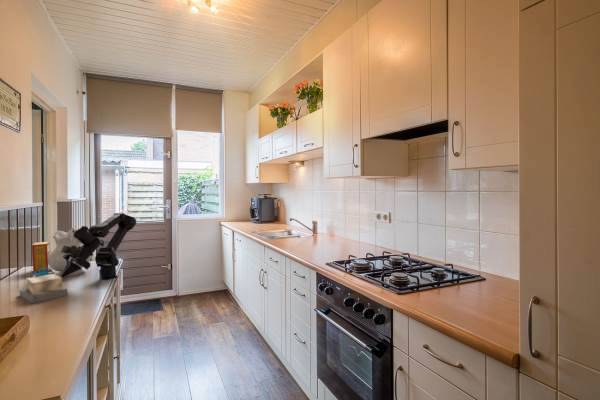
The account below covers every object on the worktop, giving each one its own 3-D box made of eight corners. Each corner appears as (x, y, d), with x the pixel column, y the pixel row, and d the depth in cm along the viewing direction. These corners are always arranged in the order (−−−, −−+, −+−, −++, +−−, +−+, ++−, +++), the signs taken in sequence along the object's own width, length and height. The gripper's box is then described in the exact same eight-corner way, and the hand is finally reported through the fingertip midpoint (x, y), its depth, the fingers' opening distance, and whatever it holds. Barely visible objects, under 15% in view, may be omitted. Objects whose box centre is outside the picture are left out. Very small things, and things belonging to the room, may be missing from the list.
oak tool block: (55, 289, 149) (54, 273, 149) (62, 294, 142) (61, 277, 141) (27, 295, 141) (26, 278, 141) (33, 301, 134) (32, 283, 134)
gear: (24, 285, 151) (34, 266, 157) (28, 291, 155) (37, 272, 161) (51, 286, 153) (60, 267, 160) (54, 292, 158) (63, 274, 164)
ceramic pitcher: (99, 274, 178) (101, 229, 179) (58, 280, 162) (60, 230, 162) (80, 269, 190) (82, 227, 190) (40, 275, 173) (42, 228, 174)
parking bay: (53, 288, 151) (53, 282, 151) (67, 295, 140) (67, 289, 140) (19, 295, 141) (19, 289, 141) (31, 303, 130) (31, 297, 130)
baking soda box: (36, 269, 187) (35, 242, 186) (50, 267, 190) (49, 240, 190) (33, 273, 179) (31, 244, 178) (48, 271, 182) (46, 243, 182)
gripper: (66, 236, 155) (39, 264, 147) (81, 240, 144) (52, 270, 135) (85, 250, 162) (60, 277, 153) (101, 254, 150) (75, 284, 142)
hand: (61, 276), depth 146 cm, fingers closed
